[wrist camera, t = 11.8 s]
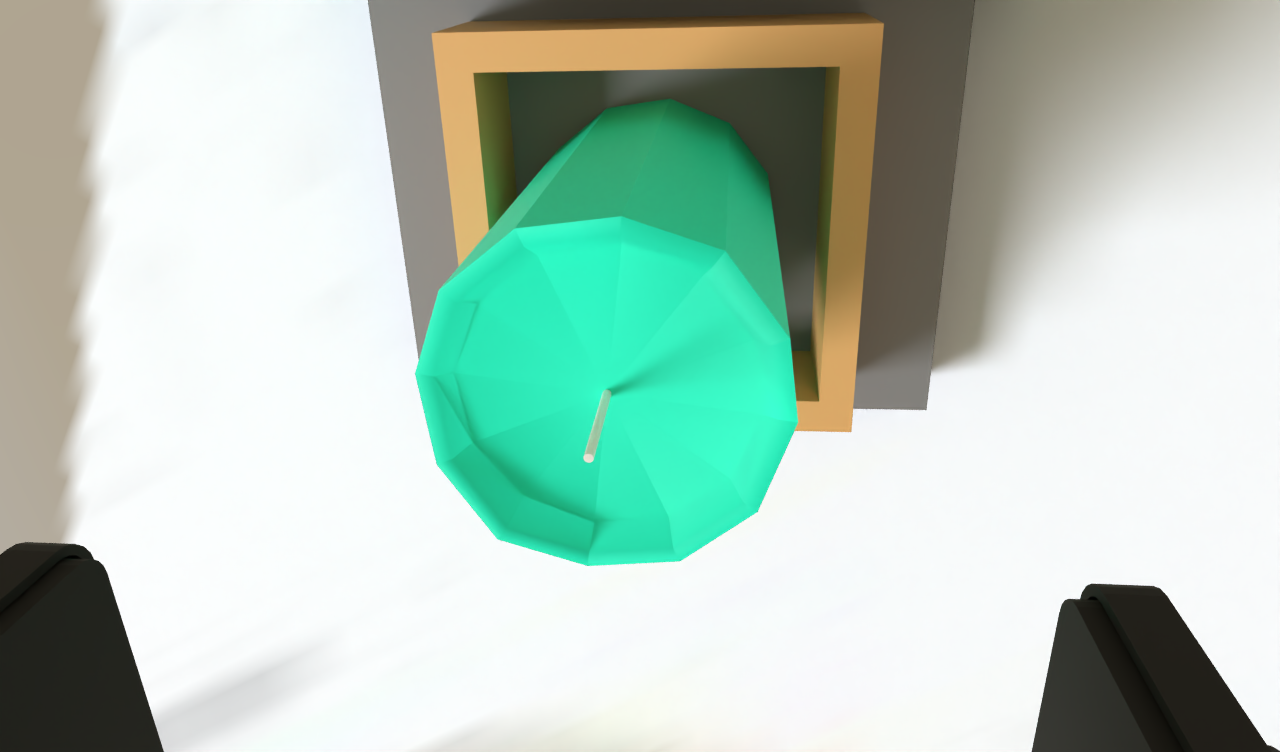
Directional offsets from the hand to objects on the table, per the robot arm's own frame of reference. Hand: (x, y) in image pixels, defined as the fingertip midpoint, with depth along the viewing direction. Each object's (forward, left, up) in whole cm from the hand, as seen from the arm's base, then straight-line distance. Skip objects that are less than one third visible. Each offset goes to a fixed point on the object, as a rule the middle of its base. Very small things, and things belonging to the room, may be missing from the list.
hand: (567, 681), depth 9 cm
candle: (0, 0, -16) cm, 16 cm away
